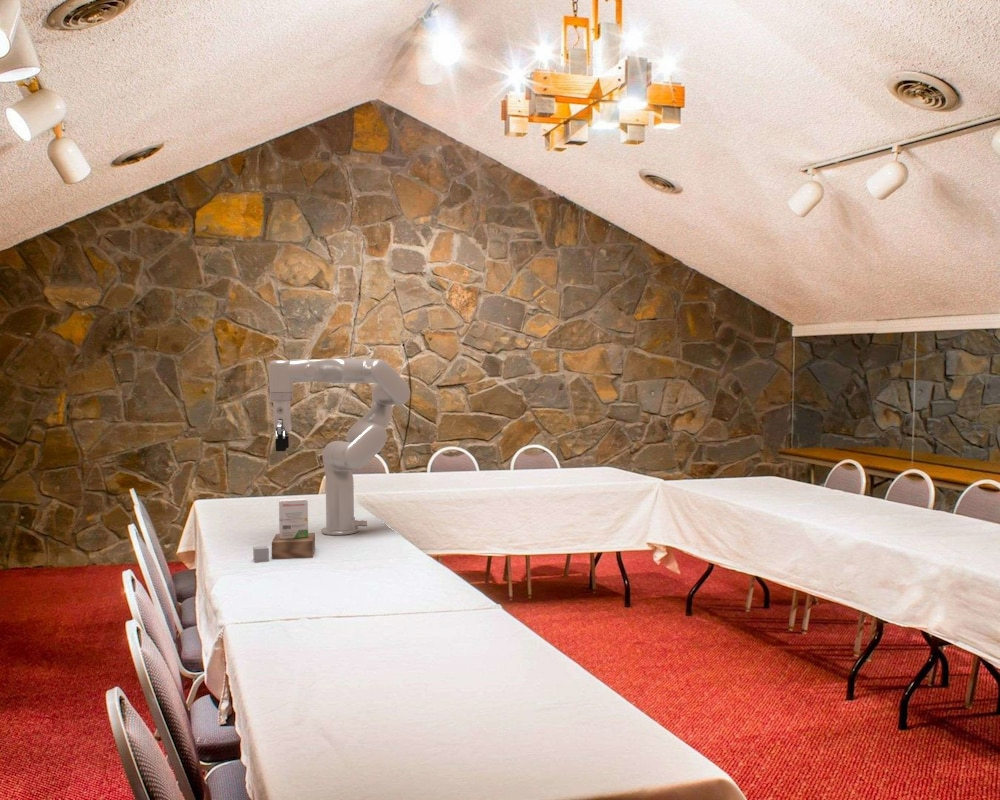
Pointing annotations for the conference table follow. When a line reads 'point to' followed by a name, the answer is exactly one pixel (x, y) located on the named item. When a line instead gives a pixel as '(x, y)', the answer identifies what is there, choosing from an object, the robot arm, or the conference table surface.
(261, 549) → the slate cube
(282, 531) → the ink box
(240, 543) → the conference table surface
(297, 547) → the walnut base block
